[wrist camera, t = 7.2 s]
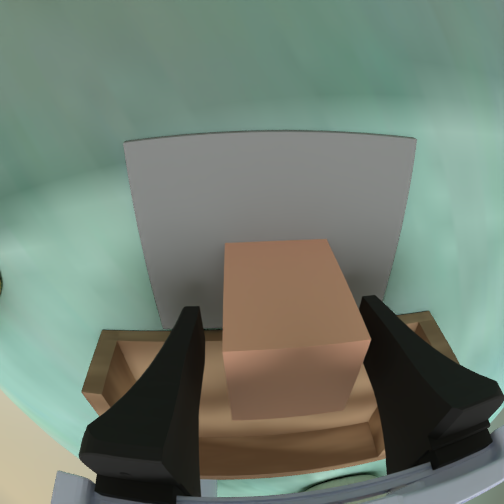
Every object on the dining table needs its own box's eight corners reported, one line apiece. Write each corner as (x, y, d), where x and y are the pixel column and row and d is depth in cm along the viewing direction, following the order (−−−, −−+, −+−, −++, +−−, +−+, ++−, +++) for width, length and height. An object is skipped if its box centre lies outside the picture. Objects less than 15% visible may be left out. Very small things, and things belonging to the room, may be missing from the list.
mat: (376, 312, 17) (377, 315, 17) (163, 324, 17) (163, 328, 17) (413, 137, 12) (416, 139, 12) (125, 141, 11) (123, 143, 11)
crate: (374, 417, 25) (386, 458, 22) (157, 433, 25) (152, 476, 21) (428, 310, 18) (459, 364, 14) (102, 330, 17) (81, 391, 13)
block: (316, 312, 17) (343, 410, 12) (230, 317, 16) (232, 420, 11) (326, 238, 14) (371, 339, 9) (224, 243, 14) (222, 351, 9)
